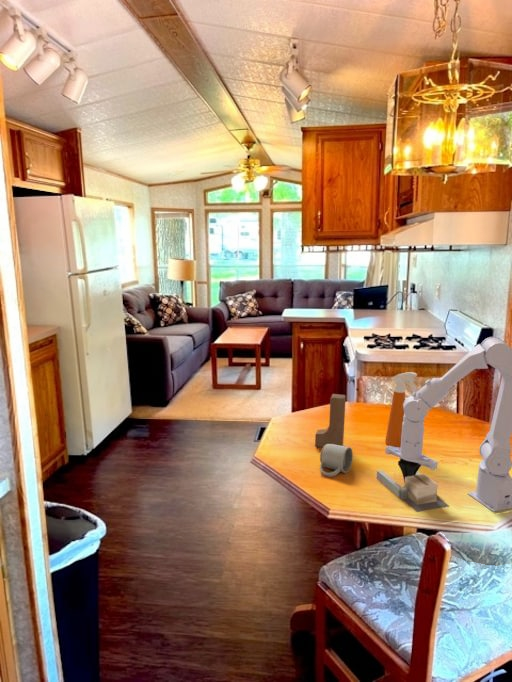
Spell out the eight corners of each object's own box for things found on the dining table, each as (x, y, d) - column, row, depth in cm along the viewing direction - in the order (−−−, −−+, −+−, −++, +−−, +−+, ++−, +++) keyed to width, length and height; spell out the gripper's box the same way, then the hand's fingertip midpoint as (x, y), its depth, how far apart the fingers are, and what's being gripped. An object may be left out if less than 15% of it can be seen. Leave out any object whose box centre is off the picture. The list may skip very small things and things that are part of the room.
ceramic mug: (328, 460, 152) (329, 437, 151) (352, 467, 148) (353, 443, 146) (313, 474, 144) (314, 450, 142) (338, 481, 139) (339, 457, 138)
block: (436, 501, 128) (437, 483, 127) (416, 504, 126) (418, 486, 125) (422, 490, 134) (423, 473, 133) (403, 493, 132) (405, 476, 131)
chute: (436, 495, 132) (437, 484, 131) (401, 500, 129) (402, 489, 128) (408, 473, 144) (409, 463, 143) (376, 478, 141) (377, 468, 140)
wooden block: (314, 446, 163) (316, 395, 159) (317, 441, 167) (319, 392, 163) (341, 450, 160) (344, 398, 156) (343, 444, 164) (345, 394, 161)
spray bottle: (410, 452, 158) (416, 376, 153) (381, 443, 166) (386, 369, 160) (420, 446, 163) (426, 372, 158) (391, 437, 171) (396, 366, 165)
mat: (449, 506, 126) (449, 506, 126) (416, 512, 123) (416, 511, 123) (430, 491, 134) (430, 491, 134) (399, 496, 131) (399, 496, 131)
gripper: (444, 443, 130) (439, 489, 133) (395, 428, 140) (392, 471, 143) (432, 450, 125) (427, 498, 128) (382, 434, 135) (379, 479, 138)
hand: (408, 484), depth 135 cm, fingers closed
